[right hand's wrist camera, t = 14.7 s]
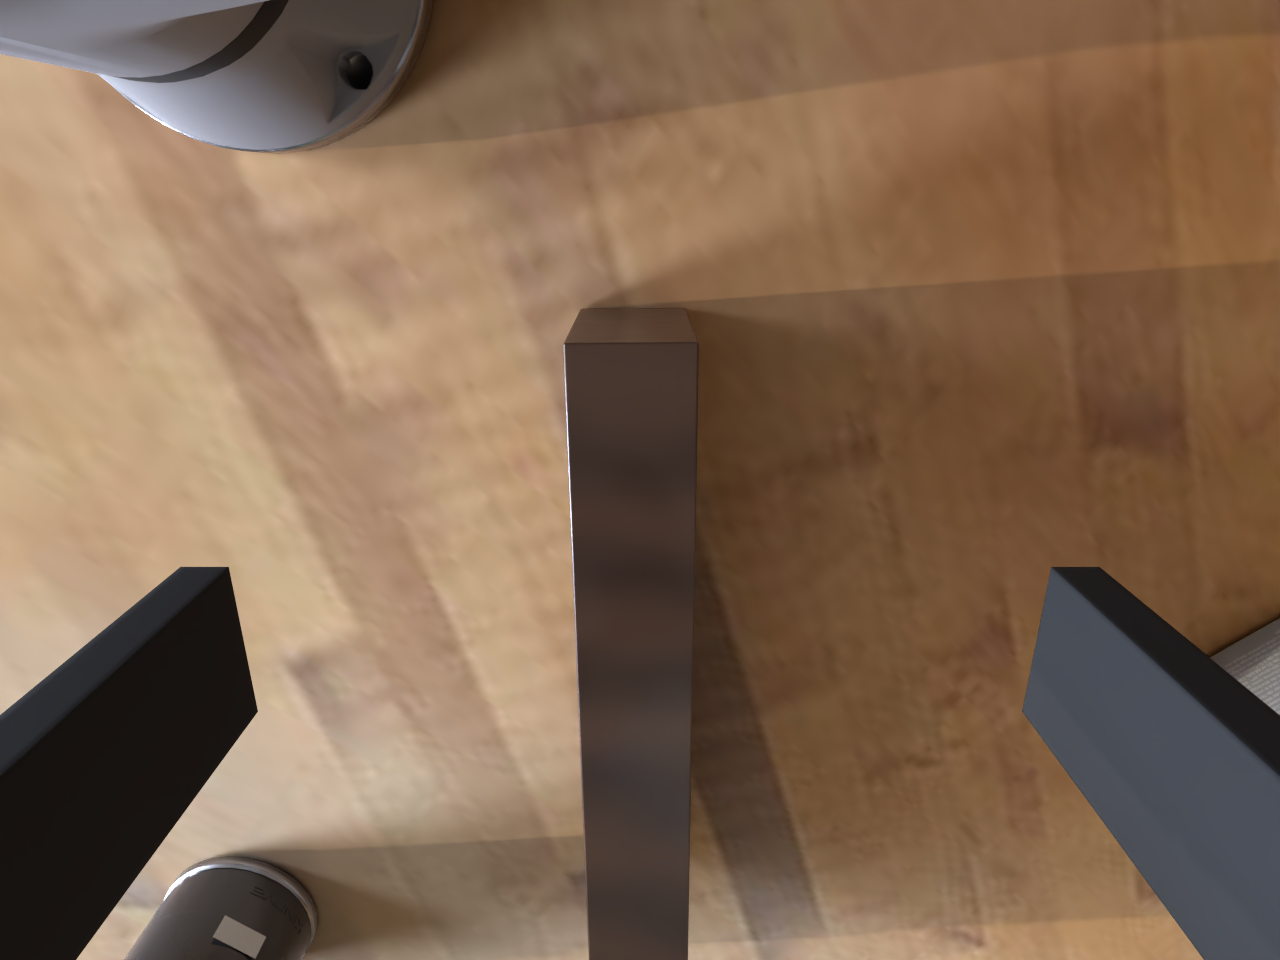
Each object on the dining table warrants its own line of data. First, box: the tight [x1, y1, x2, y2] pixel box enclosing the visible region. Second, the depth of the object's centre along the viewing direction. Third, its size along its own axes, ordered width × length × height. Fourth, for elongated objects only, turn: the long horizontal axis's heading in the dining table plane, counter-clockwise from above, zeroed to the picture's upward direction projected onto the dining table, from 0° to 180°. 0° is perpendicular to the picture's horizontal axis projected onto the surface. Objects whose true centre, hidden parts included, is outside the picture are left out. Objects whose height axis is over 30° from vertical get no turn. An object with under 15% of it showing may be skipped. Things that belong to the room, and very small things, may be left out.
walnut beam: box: [563, 308, 699, 960], centre depth 39 cm, size 32×5×9 cm, turn 0°
